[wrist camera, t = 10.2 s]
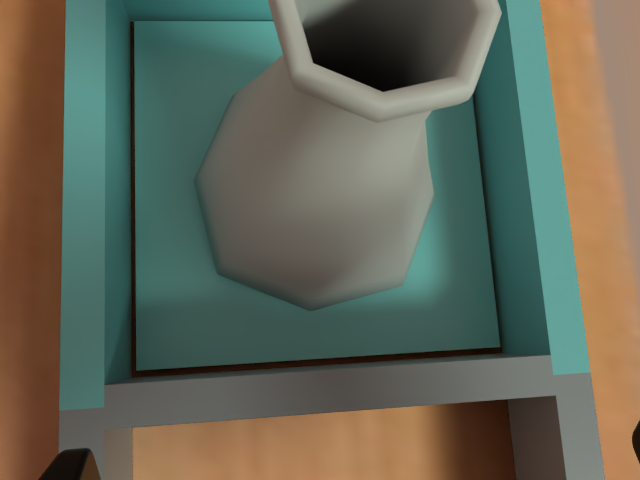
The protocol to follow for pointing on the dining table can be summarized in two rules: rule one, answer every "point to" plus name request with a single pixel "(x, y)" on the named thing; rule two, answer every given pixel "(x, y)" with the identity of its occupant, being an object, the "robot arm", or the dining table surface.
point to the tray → (285, 318)
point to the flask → (338, 145)
